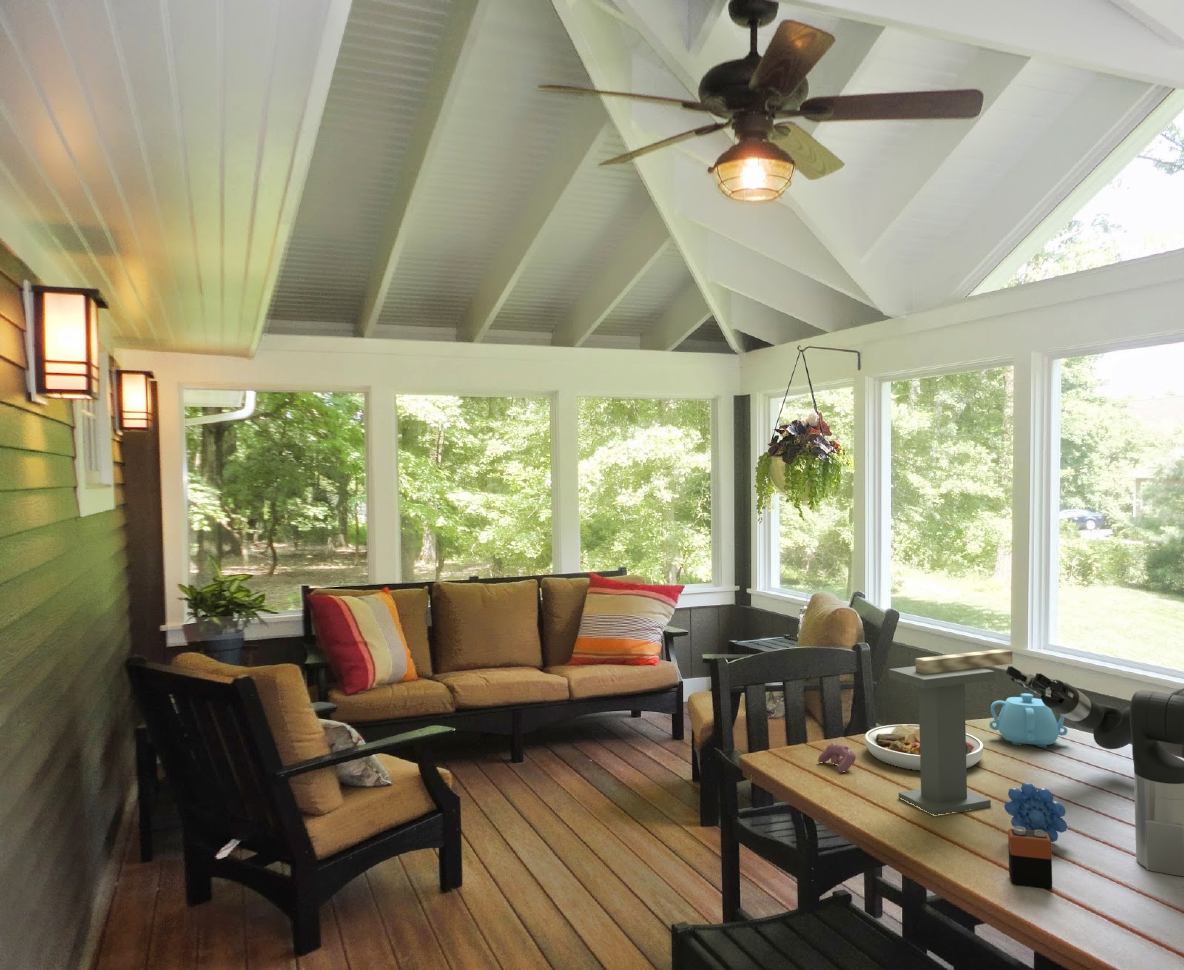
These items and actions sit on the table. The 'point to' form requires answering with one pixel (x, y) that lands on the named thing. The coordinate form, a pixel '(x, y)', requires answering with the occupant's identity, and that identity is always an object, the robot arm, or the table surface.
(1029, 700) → the decorative pot
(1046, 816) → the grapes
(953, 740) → the plant stand
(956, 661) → the birch rod
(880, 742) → the bowl
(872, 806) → the table surface
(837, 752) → the video game controller
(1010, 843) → the battery
